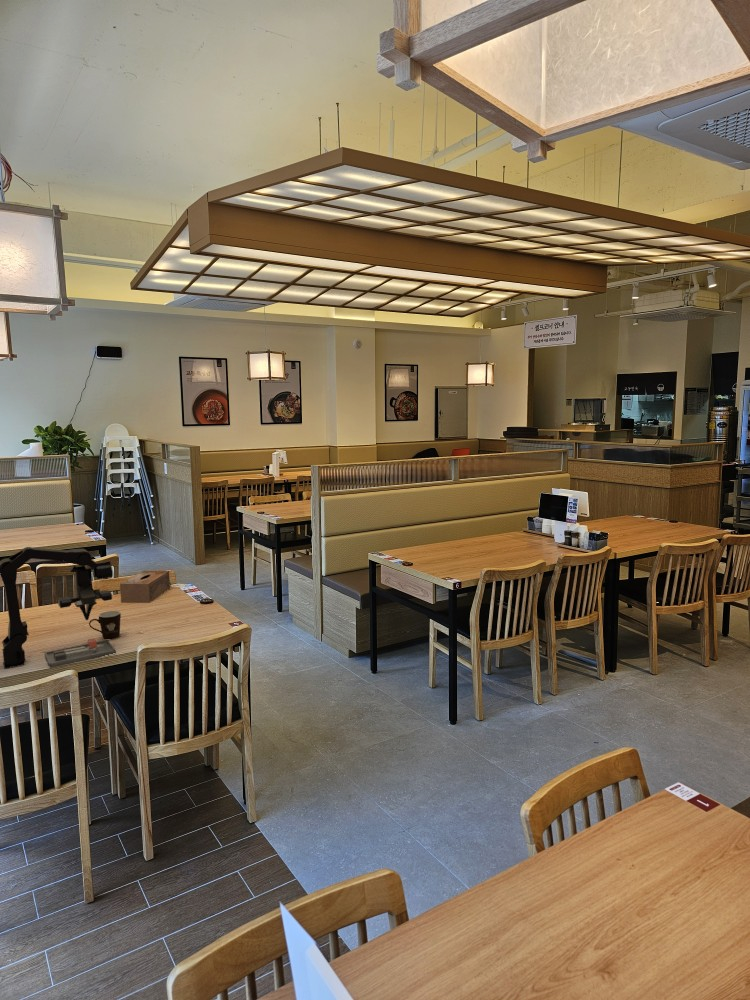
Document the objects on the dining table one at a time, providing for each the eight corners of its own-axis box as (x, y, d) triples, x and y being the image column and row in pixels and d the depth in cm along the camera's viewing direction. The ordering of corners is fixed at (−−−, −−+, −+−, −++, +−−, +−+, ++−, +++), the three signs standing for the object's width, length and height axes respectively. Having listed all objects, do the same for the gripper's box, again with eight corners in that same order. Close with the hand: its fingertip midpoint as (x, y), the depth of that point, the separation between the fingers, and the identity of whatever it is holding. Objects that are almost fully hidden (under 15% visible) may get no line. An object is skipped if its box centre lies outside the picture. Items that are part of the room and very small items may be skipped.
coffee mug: (125, 633, 265) (123, 610, 264) (117, 640, 256) (116, 616, 255) (97, 633, 265) (96, 611, 263) (89, 641, 256) (87, 617, 255)
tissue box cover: (144, 588, 335) (142, 570, 333) (170, 589, 334) (169, 570, 332) (121, 603, 309) (119, 583, 308) (149, 603, 308) (148, 583, 307)
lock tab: (90, 648, 240) (89, 642, 239) (88, 645, 243) (87, 639, 242) (96, 646, 241) (96, 640, 241) (94, 644, 244) (94, 638, 244)
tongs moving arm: (54, 658, 235) (54, 653, 235) (53, 656, 237) (53, 651, 237) (85, 652, 241) (85, 647, 241) (85, 651, 243) (84, 645, 242)
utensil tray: (49, 668, 229) (49, 663, 228) (44, 656, 240) (44, 652, 240) (116, 653, 242) (115, 649, 241) (108, 643, 253) (107, 639, 253)
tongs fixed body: (55, 661, 233) (55, 656, 232) (54, 658, 236) (53, 652, 236) (105, 651, 243) (105, 645, 242) (103, 647, 246) (103, 642, 246)
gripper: (60, 589, 232) (64, 630, 234) (113, 581, 242) (116, 620, 244) (56, 583, 241) (59, 622, 243) (107, 576, 251) (110, 613, 253)
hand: (86, 619), depth 246 cm, fingers closed
